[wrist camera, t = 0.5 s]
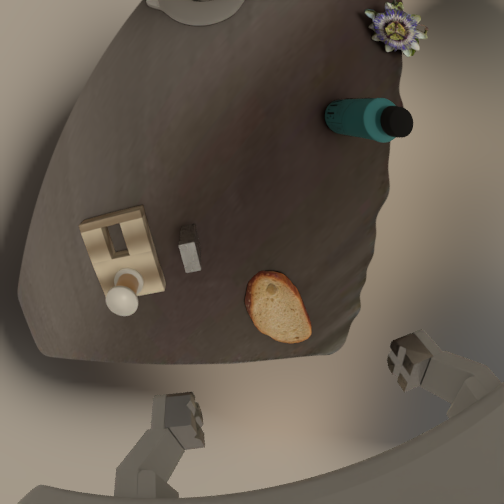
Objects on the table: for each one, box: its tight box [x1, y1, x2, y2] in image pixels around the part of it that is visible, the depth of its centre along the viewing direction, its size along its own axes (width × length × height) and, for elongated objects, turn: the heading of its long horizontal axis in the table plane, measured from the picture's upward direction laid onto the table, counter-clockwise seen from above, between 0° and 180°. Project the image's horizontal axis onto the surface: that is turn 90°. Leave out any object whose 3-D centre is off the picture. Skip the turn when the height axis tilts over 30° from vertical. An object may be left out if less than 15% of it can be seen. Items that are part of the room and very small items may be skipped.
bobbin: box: [106, 267, 144, 316], centre depth 49 cm, size 6×6×7 cm
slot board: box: [79, 205, 166, 296], centre depth 51 cm, size 16×12×3 cm
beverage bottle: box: [325, 98, 413, 142], centre depth 39 cm, size 6×7×20 cm
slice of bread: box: [245, 271, 311, 343], centre depth 62 cm, size 18×18×4 cm
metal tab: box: [179, 224, 201, 273], centre depth 50 cm, size 5×2×8 cm, turn 8°
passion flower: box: [365, 0, 428, 57], centre depth 38 cm, size 11×11×12 cm
